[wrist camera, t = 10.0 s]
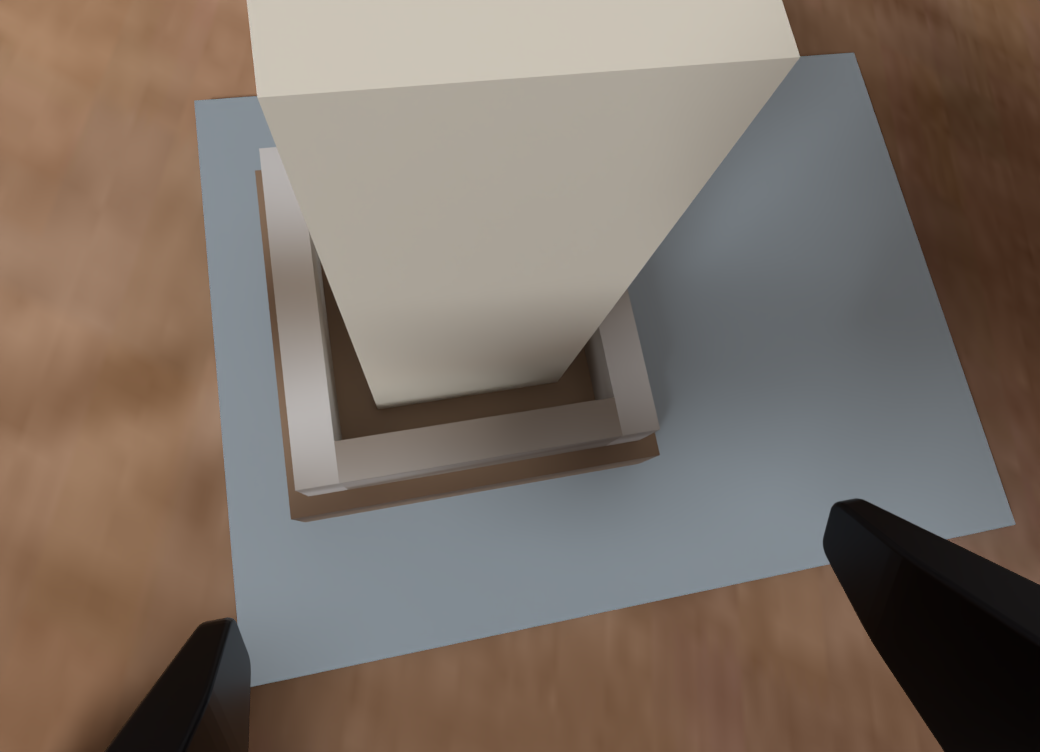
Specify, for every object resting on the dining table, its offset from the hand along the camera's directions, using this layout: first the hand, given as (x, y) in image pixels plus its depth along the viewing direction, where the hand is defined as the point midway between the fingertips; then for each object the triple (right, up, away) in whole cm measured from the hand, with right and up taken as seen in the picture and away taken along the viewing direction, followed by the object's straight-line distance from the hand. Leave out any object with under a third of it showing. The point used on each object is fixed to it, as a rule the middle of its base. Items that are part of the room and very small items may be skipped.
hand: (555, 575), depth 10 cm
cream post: (-2, +5, +9) cm, 11 cm away
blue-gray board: (+2, +5, +12) cm, 13 cm away
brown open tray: (-3, +4, +11) cm, 12 cm away
